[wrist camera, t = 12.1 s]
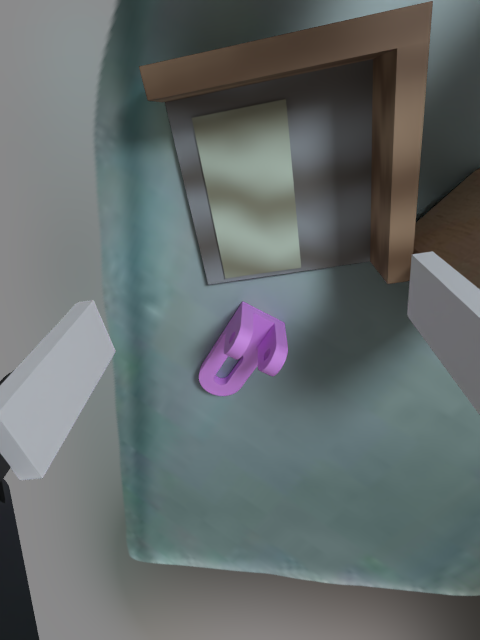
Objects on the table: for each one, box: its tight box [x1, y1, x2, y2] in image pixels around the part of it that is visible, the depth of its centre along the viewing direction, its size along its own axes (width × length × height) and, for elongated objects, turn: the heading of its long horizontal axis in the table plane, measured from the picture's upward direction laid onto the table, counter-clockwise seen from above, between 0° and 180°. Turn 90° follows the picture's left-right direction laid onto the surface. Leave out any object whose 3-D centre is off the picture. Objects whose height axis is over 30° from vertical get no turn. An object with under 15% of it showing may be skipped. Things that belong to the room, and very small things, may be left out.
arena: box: [139, 1, 433, 285], centre depth 30 cm, size 19×19×6 cm
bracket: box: [199, 301, 288, 396], centre depth 40 cm, size 13×6×7 cm, turn 151°
